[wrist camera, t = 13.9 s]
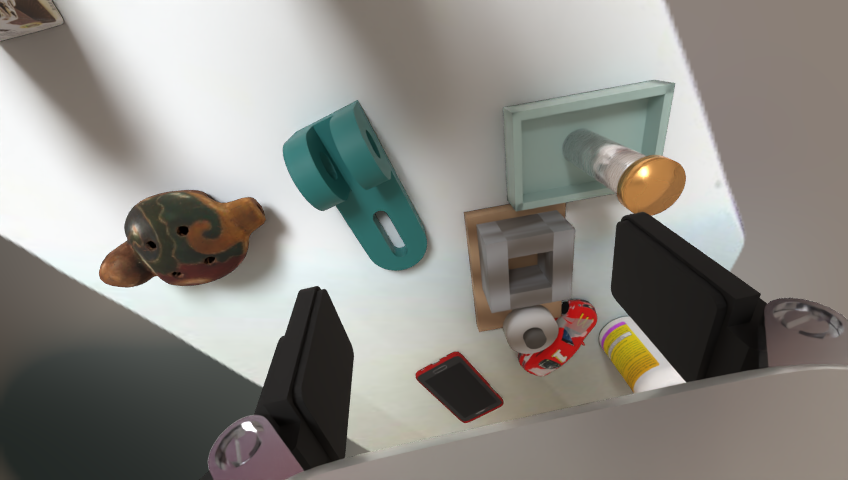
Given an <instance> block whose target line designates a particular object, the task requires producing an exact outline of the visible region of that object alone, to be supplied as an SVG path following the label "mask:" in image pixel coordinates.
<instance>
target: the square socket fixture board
mask: <svg viewBox="0 0 848 480" xmlns="http://www.w3.org/2000/svg"><path fill="white" fill-rule="evenodd" d="M565 210H566V202H565V203H560V204H554V205H549V206H543V207H538V208H533V209H527V210H522V211H515V210H514V209H513V207H512V206H511V204H507V205H502V206H496V207H491V208H485V209H480V210H474V211H469V212H464V217H465V226H466V235H467V244H468V252H469V261H470V270H471V279H472V287H473V296H474V305H475V314H476V322H477V327H478V330H479V332H481V331H487V330H492V329H498V328H503V331H504V333H505V336H506V338H507V341H508V344H509V346H510V347H511V348H512V349H513V350H514V351H516V352H519V353H523V354H531V353H537V352H540V351H542V350H544V349H546V348H547V347H549V346H550V345H551V344H552V343H553V342H554V341H555V339H556V338H557V336H558V331H559V328H558V325H557V323H556V321H555V319H554V318H559V317H561V305H562V300H567V299H571V290H572V273H573V256H574V239H575V228H574V227H573V226H572V225H571V224H570V223H569V222H568V221H567V220H566V219H565Z"/></svg>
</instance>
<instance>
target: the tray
mask: <svg viewBox="0 0 848 480" xmlns="http://www.w3.org/2000/svg"><path fill="white" fill-rule="evenodd" d="M674 88H675V83H671V82H664V81H658V80H651V81H646V82H640V83H635V84H629V85H624V86H618V87H613V88H607V89H602V90H596V91H591V92H585V93H580V94H575V95H569V96H564V97H558V98H553V99H547V100H542V101H536V102H531V103H525V104H520V105H514V106H509V107H504V108H503V115H504V137H505V158H506V180H507V200H508V202H509V203H510V204H511V206H512V207H513V209H514V210H515V211H522V210H527V209H533V208H538V207H543V206H549V205H554V204H560V203H565V202H571V201H576V200H582V199H587V198H593V197H598V196H604V195H609V194H615V192H613V191H612V190H610V189H609V188H607V187H606V186H604V185H603V184H602V183H600V182H599V181H597V180H596V179H594V178H593V177H591V176H590V175H588V174H587V173H585V172H584V171H582V170H581V169H579V168H578V167H576V166H575V165H574V164H572V163H571V162H569V161H568V160H566V159H565V157H564V156H563V153H562V146H563V143H564V141H565V139H566V138H567V136H568V135H569V134H570V133H572V132H573V131H575V130H577V129H588V130H590V131H593V132H595V133H597V134H599V135H601V136H604V137H606V138H608V139H610V140H612V141H615V142H617V143H619V144H621V145H623V146H626V147H628V148H630V149H632V150H634V151H637V152H639V153H641V154H643V155H645V156H649V155H661V156H663V150H664V144H665V139H666V133H667V127H668V122H669V116H670V110H671V105H672V99H673V93H674Z"/></svg>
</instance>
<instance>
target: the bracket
mask: <svg viewBox="0 0 848 480" xmlns="http://www.w3.org/2000/svg"><path fill="white" fill-rule="evenodd" d="M283 156H284V160H285V164H286V166H287V169H288V171H289V174H290V176H291V178H292V180H293V181H294V183H295V185H296V186H297V188H298V189H299V191H300V192H301V194H302V195H303V196H304V197H305V199H306V200H307V201H308V202H309V203H310V204H311V205H312V206H313V207H315V208H316V209H318V210H321V211H325V210H327V209H329V208H331V207H333V206H335V205H336V207H337V208H338V210H339V211H340V213H341V215H342V216H343V218H344V219H345V221H346V222H347V224H348V225H349V227H350V228H351V230H352V231H353V233H354V235H355V236H356V238H357V239H358V241H359V242H360V244H361V245H362V247H363V248H364V250H365V251H366V253H367V255H368V256H369V258H370V259H371V260H372V261H373V262H374V263H375V264H376V265H378V266H380V267H382V268H384V269H387V270H395V271H397V270H404V269H408V268H410V267H412V266H414V265H415V264H417V263H418V262H419V261H420V260H421V259H422V257H423V256H424V254H425V252H426V248H427V239H426V234H425V229H424V226H423V224H422V222H421V220H420V218H419V216H418V214H417V212H416V210H415V208H414V207H413V205H412V203H411V201H410V199H409V197H408V195H407V193H406V191H405V189H404V187H403V186H402V184H401V182H400V180H399V178H398V176H397V174H396V172H395V170H394V168H393V167H392V165H391V163H390V161H389V159H388V157H387V155H386V153H385V151H384V149H383V147H382V146H381V144H380V142H379V140H378V138H377V136H376V134H375V132H374V130H373V128H372V127H371V125H370V123H369V121H368V119H367V117H366V115H365V113H364V111H363V109H362V107H361V106H360V104H359V102H358V100H357V101H355V102H353V103H351V104H349V105H347V106H345V107H343V108H341V109H340V110H338V111H336V112H334V113H332V114H330V115H328V116H326V117H324V118H322V119H320V120H318V121H316V122H314V123H313V124H311V125H309V126H307V127H305V128H303V129H301V130H299V131H297V132H296V133H295V134H294V135H293V136H292V137H291V138H290V139H289V140H288V141H287V142H286V143H285V144H284V146H283ZM377 211H384V212H386V213H387V214H388V216H389V217H390V219H391V221H392V223H393V224H394V226H395V228H396V230H397V231H398V233H399V235H400V237H401V238H402V240H403V242H404V244H405V246H404V247H402V248H397V247H395V246H394V245H393V244H392V242H391V240H390V239H389V237H388V235H387V234H386V232H385V230H384V229H383V227H382V225H381V224H380V222H379V220H378V218H377V217H376V215H375V212H377Z"/></svg>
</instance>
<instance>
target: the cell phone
mask: <svg viewBox="0 0 848 480" xmlns="http://www.w3.org/2000/svg"><path fill="white" fill-rule="evenodd" d="M423 369H424V368H423ZM421 370H422V369H421ZM421 370H419V371H418V372H417V373H416V379H417V380H418V382H419V383H420V384H422V385H423V386H424V387H425V388H426V389H427V390H428V391H429V392H430V393H431V394H432V395H433V396H434V397H436V398H437V399H438V400H439V401H440V402H441V403H442V404H443V405H444V406H445V405H446V406H445V407H446V408H447V409H449V410H450V411H451V412H452V413H453V414H454V415H455V416H456V417H457V418H458V419H459V420H460V421H462V422H463V423H468V422H470V421H473V420H475V419H477V418H479V417H481V416H483V415H485V414H487V413H489V412H491V411H493V410H495V409H497V408H499V407H501V406H502V405H503V399H502V398H501V397H500V395H499V394H498V393H496V392H495V391H494V390H493V389H492V388H491V387H490V385H489V383H488V382H487V381H486V380H485V379H484V378H483V377H482V376H481V375H480V374H479V372H478V371H477V370H476V369H475V368H474V367H473V366H472V365H471V364H470V363H469V362H468V361H467V359H466V358H465V357H464V356H463V355H462V354H461V353H459V352H453V353H451V354H449V355H447V356H446V357H443V358H441V359H440V361H438V362H437V363H435V364H430V365H428V366H427V367H425V369H424V370H422V371H421Z"/></svg>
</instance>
